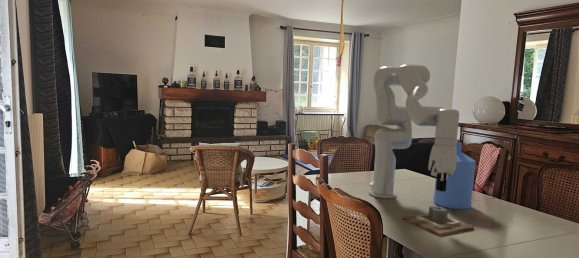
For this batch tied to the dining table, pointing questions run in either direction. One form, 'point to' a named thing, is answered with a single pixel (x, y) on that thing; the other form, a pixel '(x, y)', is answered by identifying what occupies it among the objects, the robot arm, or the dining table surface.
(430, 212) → the dice cube
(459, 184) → the water jug
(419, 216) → the pocket board
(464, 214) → the dining table surface
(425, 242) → the dining table surface
